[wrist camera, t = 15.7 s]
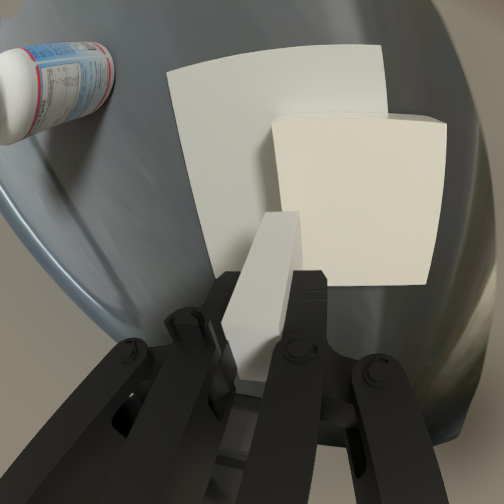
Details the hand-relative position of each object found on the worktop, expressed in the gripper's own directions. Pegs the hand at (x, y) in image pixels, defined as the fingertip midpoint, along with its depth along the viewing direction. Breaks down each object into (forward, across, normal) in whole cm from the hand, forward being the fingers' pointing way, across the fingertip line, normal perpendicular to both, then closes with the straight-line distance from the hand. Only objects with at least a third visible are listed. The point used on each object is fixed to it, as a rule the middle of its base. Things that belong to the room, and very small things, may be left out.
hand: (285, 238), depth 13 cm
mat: (+6, 0, -1) cm, 7 cm away
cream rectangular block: (+5, 0, 0) cm, 5 cm away
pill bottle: (+7, +14, -11) cm, 19 cm away
